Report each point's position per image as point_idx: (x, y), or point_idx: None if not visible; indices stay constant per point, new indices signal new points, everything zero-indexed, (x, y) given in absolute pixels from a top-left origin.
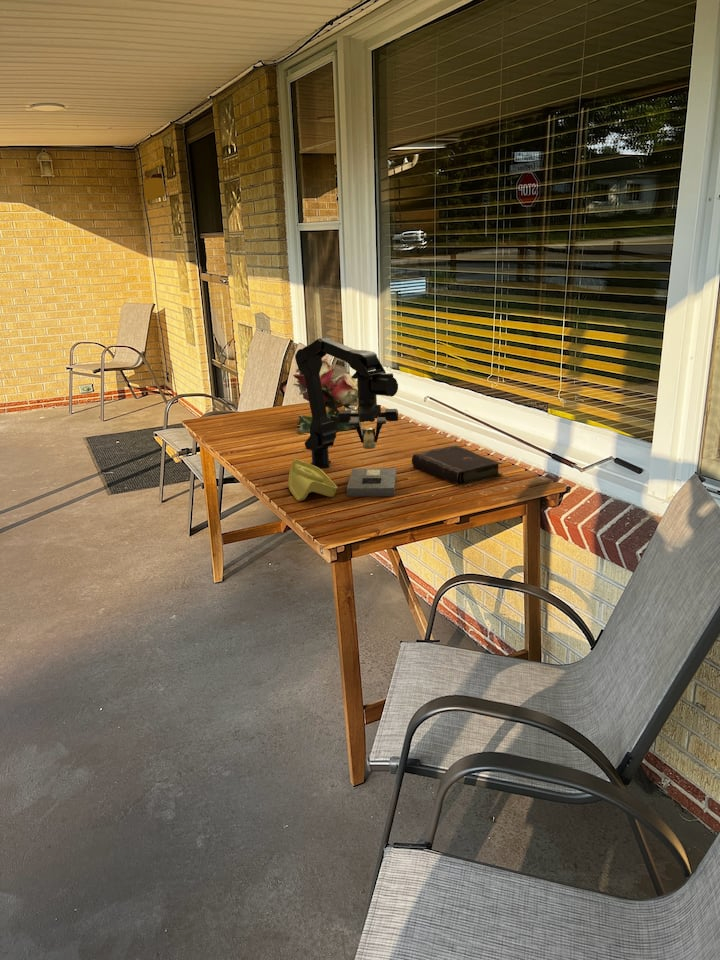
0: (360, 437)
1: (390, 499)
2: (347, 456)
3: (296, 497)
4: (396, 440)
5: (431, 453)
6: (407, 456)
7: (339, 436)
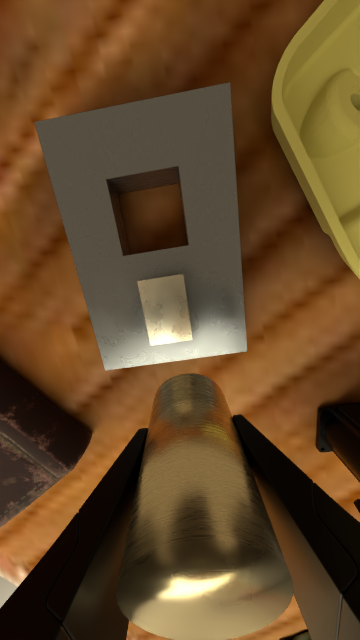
0: (265, 445)
1: (59, 102)
2: None
3: None
4: None
5: (18, 479)
6: None
7: None
